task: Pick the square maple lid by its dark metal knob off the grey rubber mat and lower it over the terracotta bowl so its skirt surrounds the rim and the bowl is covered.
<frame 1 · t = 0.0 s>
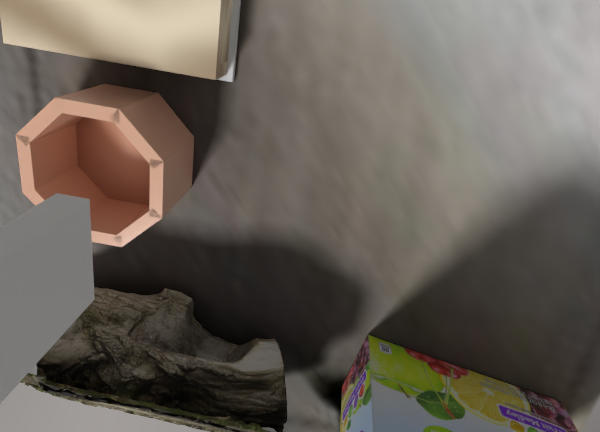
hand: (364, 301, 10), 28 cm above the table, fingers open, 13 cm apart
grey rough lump: (189, 338, 48), on the table
snack box: (448, 388, 47), on the table
bowl: (132, 151, 40), on the table
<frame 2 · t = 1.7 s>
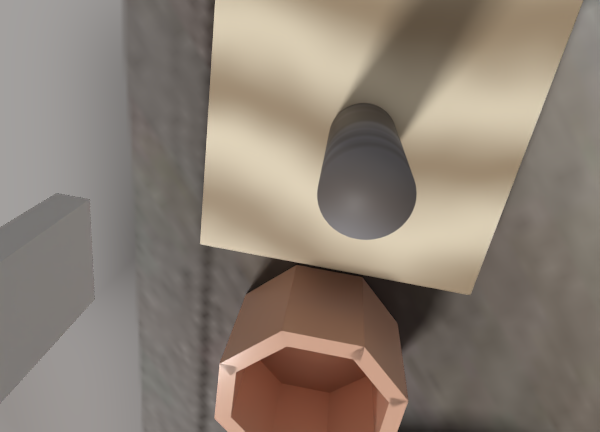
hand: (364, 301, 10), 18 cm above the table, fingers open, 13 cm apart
lid: (361, 122, 26), point 1 cm above the table, touching mat
bowl: (316, 333, 33), on the table
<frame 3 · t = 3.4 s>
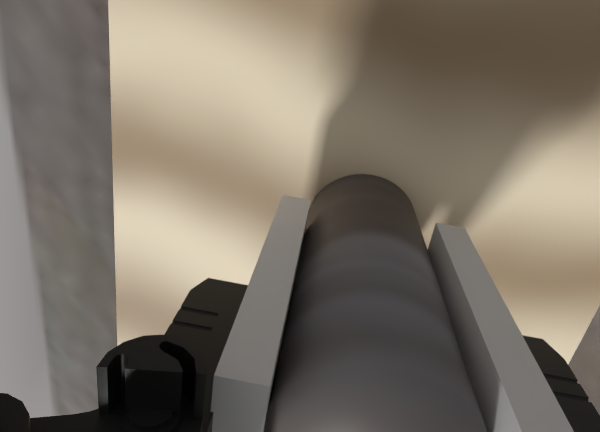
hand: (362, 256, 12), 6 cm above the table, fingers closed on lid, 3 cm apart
lid: (358, 189, 17), point 1 cm above the table, touching gripper, mat
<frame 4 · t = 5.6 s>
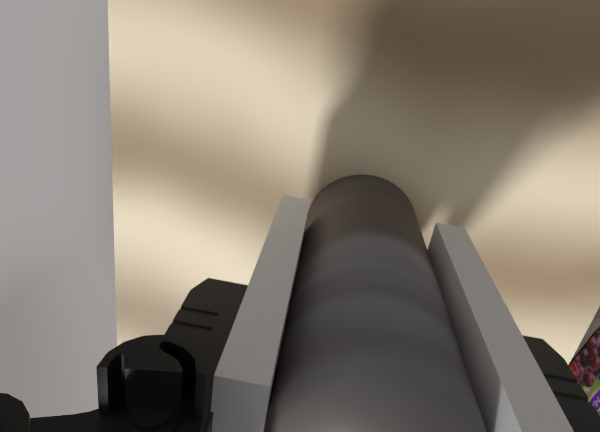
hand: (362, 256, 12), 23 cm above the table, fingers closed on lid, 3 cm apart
lid: (358, 189, 17), point 18 cm above the table, touching gripper
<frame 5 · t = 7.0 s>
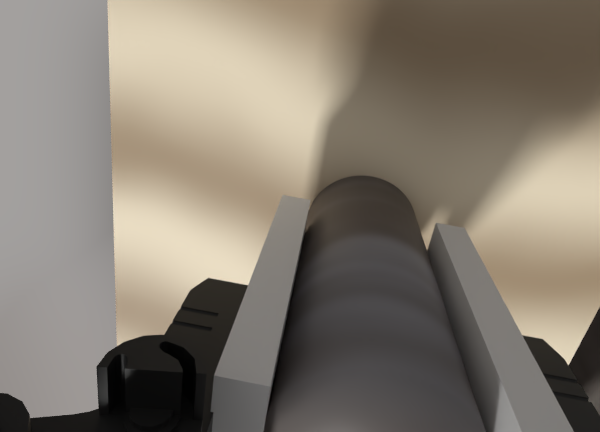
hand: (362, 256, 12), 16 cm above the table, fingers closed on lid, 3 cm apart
lid: (358, 190, 17), point 11 cm above the table, touching gripper
when the fingers open (11 cm above the table, at t = 8.1 s): lid drops 1 cm, resting on bowl.
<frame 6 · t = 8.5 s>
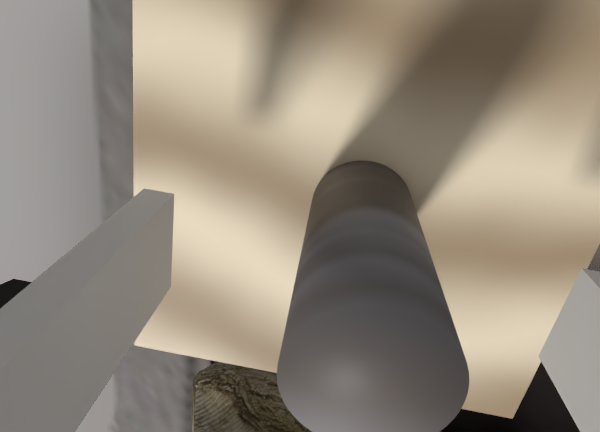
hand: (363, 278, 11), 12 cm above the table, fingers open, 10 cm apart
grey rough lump: (384, 429, 31), on the table
lid: (359, 177, 18), point 5 cm above the table, touching bowl
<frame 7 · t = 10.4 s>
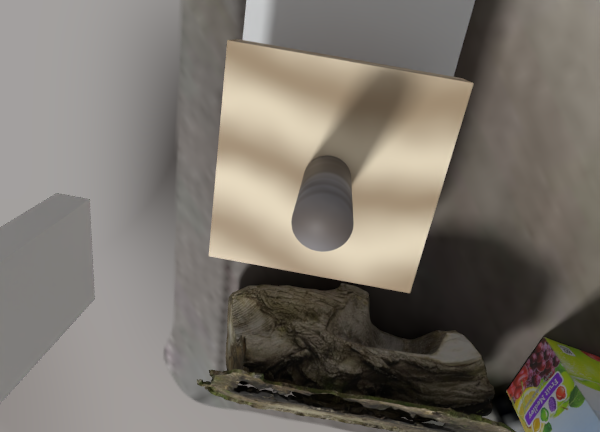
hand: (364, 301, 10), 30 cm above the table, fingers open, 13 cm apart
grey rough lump: (352, 335, 47), on the table
lid: (328, 166, 35), point 5 cm above the table, touching bowl
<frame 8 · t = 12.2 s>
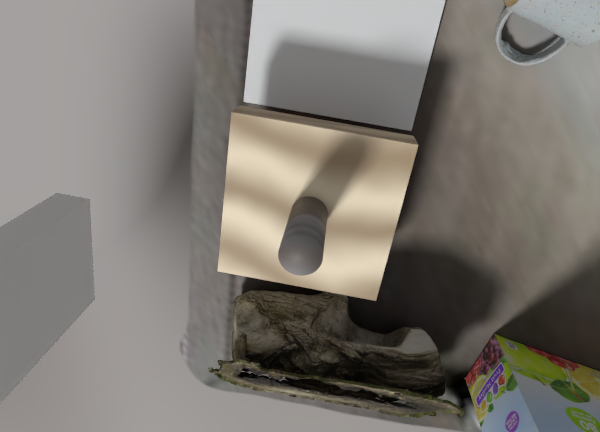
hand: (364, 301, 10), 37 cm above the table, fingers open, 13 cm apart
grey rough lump: (336, 330, 56), on the table
snack box: (556, 379, 56), on the table
lid: (312, 200, 44), point 5 cm above the table, touching bowl
mat: (343, 24, 42), on the table
ceramic mug: (544, 0, 39), on the table
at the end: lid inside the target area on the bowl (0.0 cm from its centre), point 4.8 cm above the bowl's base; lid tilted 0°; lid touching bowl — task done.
